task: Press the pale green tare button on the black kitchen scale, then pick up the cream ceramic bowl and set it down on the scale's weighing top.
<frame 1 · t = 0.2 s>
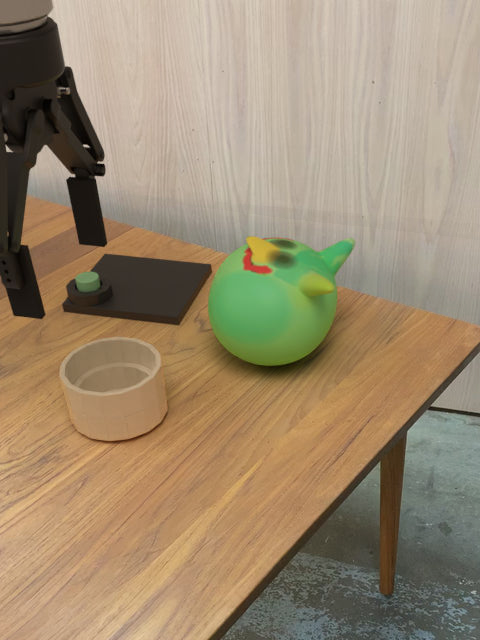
hand: (63, 277, 73), 21 cm above the table, tool pointing down, fingers open, 13 cm apart
toy bird: (278, 350, 101), on the table
scale: (140, 291, 112), on the table
tare button: (87, 282, 108), point 3 cm above the table, slide at 0.2 cm
bowl: (120, 413, 92), on the table
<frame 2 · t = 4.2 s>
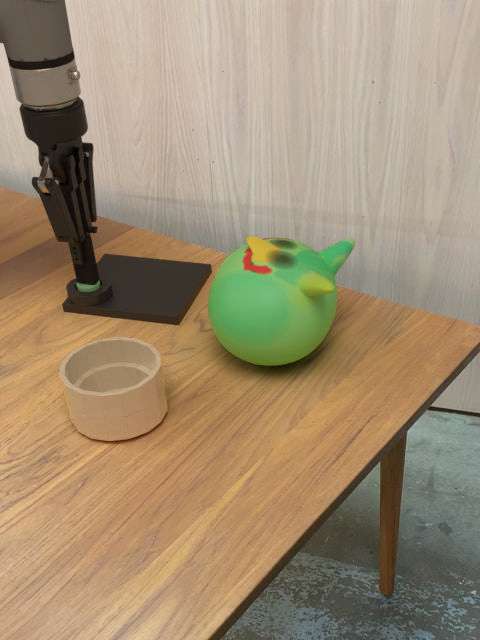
hand: (88, 280, 108), 4 cm above the table, tool pointing down, fingers closed
tare button: (88, 287, 108), point 3 cm above the table, slide at -0.7 cm, touching gripper
everything else where it was.
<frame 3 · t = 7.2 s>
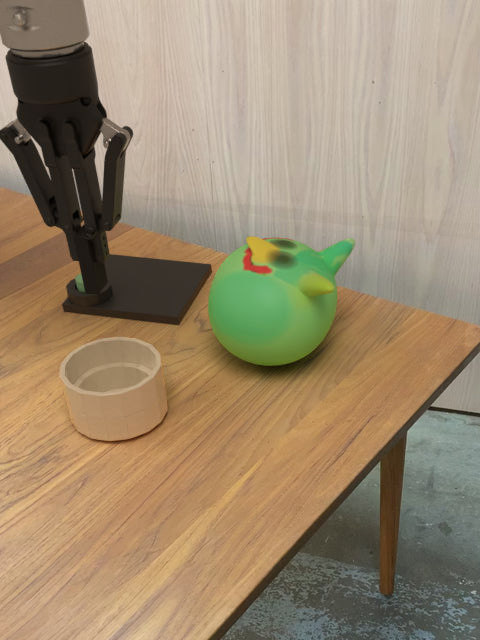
hand: (96, 287, 84), 15 cm above the table, tool pointing down, fingers closed
tare button: (87, 282, 108), point 3 cm above the table, slide at 0.2 cm
everything else where it was.
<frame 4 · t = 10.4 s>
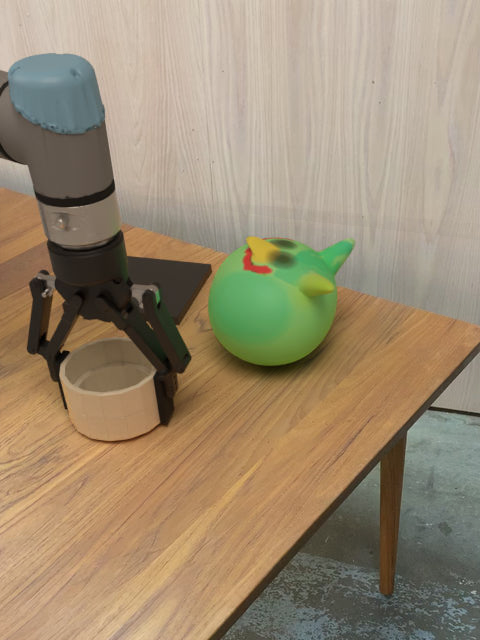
hand: (119, 409, 91), 1 cm above the table, tool pointing down, fingers closed on bowl, 11 cm apart
bowl: (120, 413, 92), on the table, touching gripper
everything else where it was.
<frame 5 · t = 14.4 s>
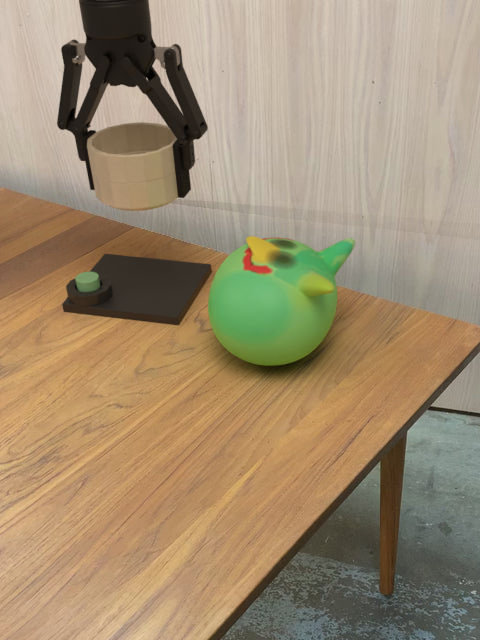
hand: (140, 189, 99), 16 cm above the table, tool pointing down, fingers closed on bowl, 11 cm apart
bowl: (141, 194, 100), point 15 cm above the table, touching gripper
everything else where it was.
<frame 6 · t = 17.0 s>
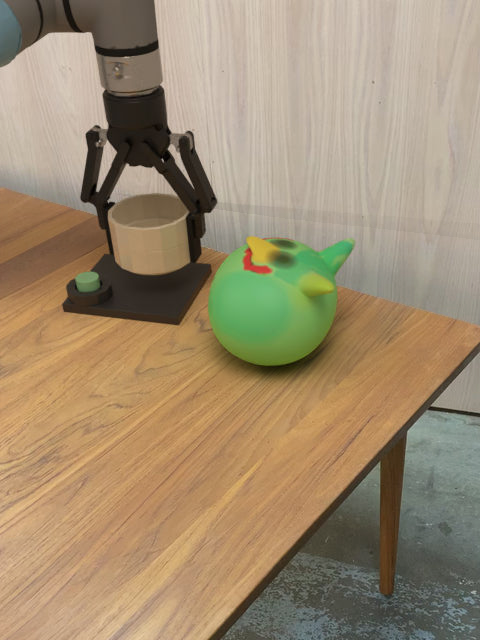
hand: (155, 254, 109), 5 cm above the table, tool pointing down, fingers closed on bowl, 11 cm apart
bowl: (156, 258, 110), point 5 cm above the table, touching gripper
everything else where it was.
when the fingers open (2 cm above the table, at t = 18.7 s): bowl stays where it is, resting on scale.
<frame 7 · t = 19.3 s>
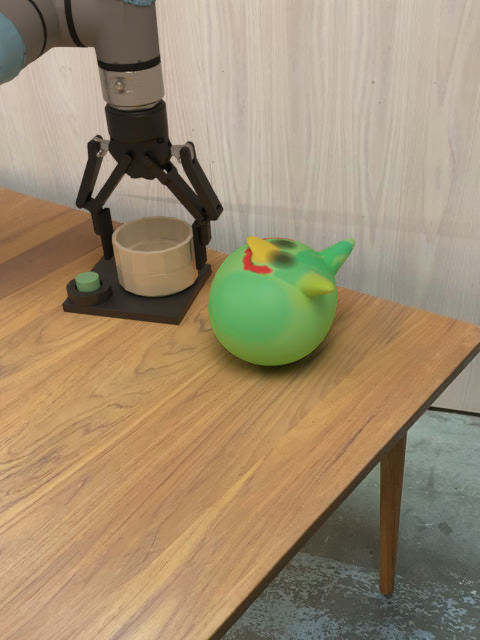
hand: (155, 260, 110), 4 cm above the table, tool pointing down, fingers open, 13 cm apart
bowl: (159, 279, 112), point 1 cm above the table, touching scale
everything else where it was.
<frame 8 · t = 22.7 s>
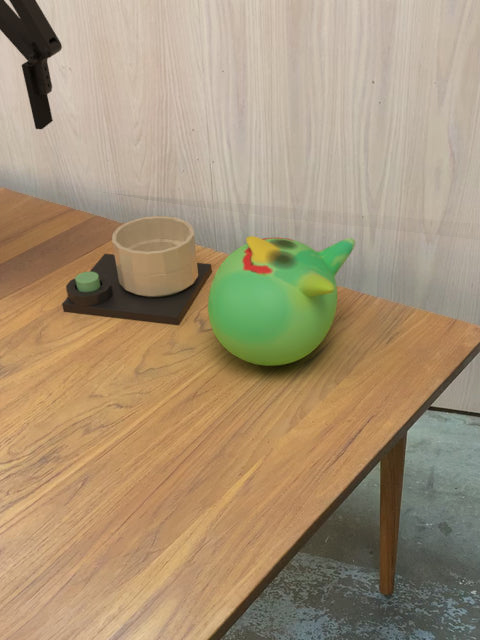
nothing on the table moved.
at the end: tare button pushed in 0.8 cm at the most during the clip, back to 0.2 cm at the end; bowl inside the target area on the scale (1.3 cm from its centre), point 1.4 cm above the scale's base; bowl touching scale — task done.
